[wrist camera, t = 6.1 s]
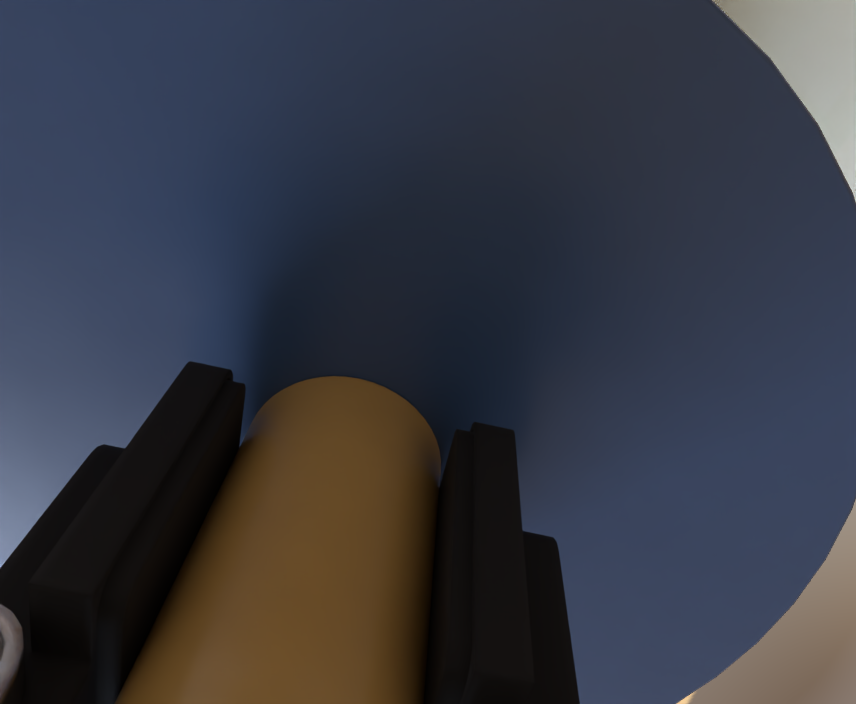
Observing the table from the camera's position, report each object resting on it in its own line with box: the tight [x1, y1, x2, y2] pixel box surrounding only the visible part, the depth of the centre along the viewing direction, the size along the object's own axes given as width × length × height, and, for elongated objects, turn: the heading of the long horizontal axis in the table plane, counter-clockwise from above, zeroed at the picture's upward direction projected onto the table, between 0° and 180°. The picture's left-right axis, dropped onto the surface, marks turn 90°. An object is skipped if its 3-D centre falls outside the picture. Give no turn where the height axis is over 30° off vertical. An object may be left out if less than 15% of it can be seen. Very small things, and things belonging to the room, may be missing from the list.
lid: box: [0, 0, 856, 704], centre depth 9 cm, size 15×15×7 cm
